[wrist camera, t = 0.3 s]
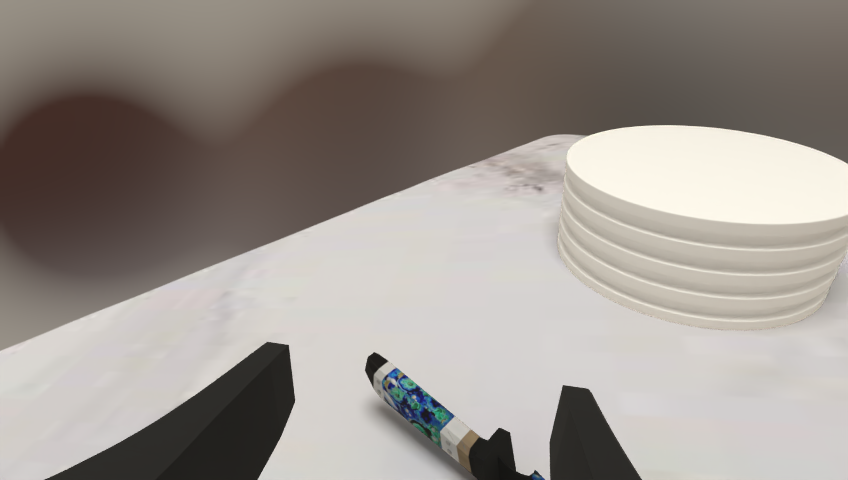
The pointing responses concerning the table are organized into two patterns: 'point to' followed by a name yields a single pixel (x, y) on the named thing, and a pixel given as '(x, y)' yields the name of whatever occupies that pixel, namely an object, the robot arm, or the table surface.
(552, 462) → the robot arm
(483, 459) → the knife
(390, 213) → the table surface
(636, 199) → the plate stack
